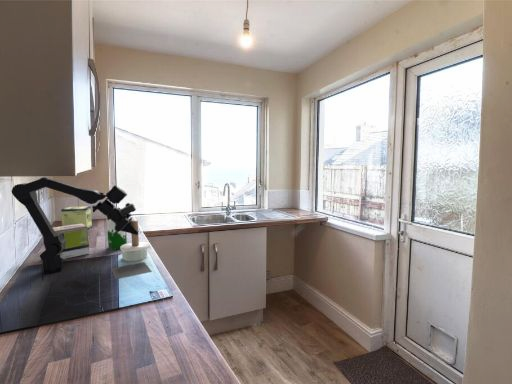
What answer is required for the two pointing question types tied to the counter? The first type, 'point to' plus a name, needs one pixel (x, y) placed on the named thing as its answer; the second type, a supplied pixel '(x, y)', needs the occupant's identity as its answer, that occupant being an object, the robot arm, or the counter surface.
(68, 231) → the tea box
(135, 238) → the peg on round base
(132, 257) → the bowl
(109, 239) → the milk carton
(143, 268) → the mat
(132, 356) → the counter surface
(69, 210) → the protein box
